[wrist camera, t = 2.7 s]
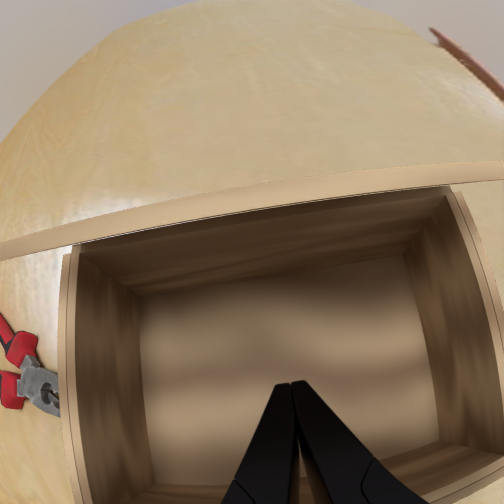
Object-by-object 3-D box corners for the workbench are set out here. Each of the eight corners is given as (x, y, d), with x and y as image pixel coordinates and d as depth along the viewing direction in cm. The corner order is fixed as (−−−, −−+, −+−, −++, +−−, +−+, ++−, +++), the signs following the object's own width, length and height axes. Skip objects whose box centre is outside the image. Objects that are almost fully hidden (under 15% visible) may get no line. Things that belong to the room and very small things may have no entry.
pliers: (-53, 355, 22) (60, 460, 16) (-36, 288, 25) (81, 358, 19) (-34, 360, 24) (83, 456, 19) (-18, 296, 28) (104, 363, 22)
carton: (451, 447, 17) (521, 464, 9) (146, 494, 18) (82, 531, 10) (411, 247, 24) (457, 184, 15) (127, 292, 25) (64, 247, 16)
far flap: (541, 176, 8) (538, 160, 8) (-20, 265, 8) (-23, 250, 8) (441, 185, 16) (439, 174, 15) (80, 242, 16) (78, 232, 16)
